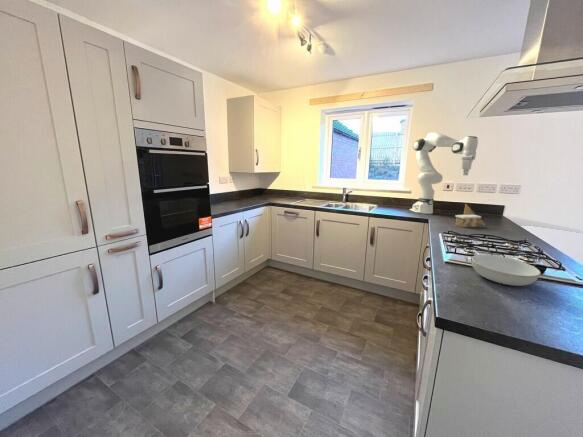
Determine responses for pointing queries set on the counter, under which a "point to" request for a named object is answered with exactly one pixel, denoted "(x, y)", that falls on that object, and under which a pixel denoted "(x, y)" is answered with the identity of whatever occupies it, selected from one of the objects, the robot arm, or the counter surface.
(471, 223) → the crate
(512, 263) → the serving bowl
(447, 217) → the counter surface
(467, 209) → the sandwich container
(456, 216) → the lid
